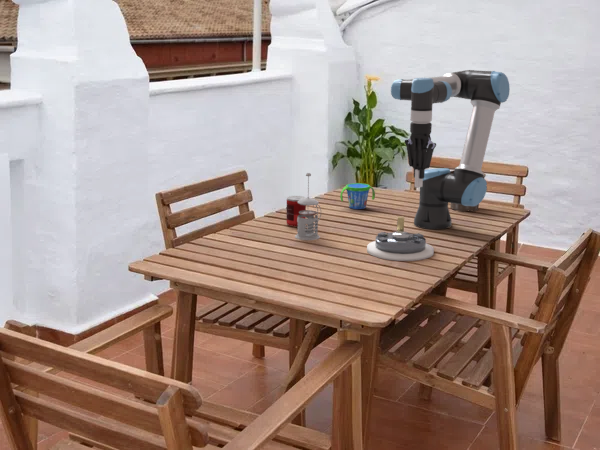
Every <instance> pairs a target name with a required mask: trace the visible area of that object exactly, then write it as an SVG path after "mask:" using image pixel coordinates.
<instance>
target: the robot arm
mask: <svg viewBox="0 0 600 450" xmlns="http://www.w3.org/2000/svg"><path fill="white" fill-rule="evenodd" d="M390 95H391V97H392V98H393V99H395V100H399V101H410V104H411V105H410V121H411V122H410V126H409V129H410V130H409V132H410V136H409V138H408V139H405V140H404V143H405V146H406V150H407V151H406V152H407V157H408V165H409V167H412V169H413V178H414V188H417V189H419V202H418V208H417V211H416V213H415V216H414V219H413V224H414V225H415V226H416V227H419V228H420V229H421V228H423V229H427V230H428V229H430V230H442V229H449V228H451V227H452V217H451V212H450V209H449V204H451V203H454V204H460V205H464V206H476V205H478V204H479V205H480V204H481V202H482V201H484V198H485V196H486V193H487V189H488V186H487V185H488V184H487V183H488V182H487V180H486V179H485V178H483V177H484V174H483V173H484V172H483V171H482V168H483V163H484V159H485V156H486V152H487V151H486V150H487V147H488V141H489V137H490V133H491V131H492V130H491V129H492V125H493V120H494V116H495V112H496V111H498V110H499V109H500V107H501V104H503V103H505V102H507V100H508V99H509V97H510V82H509V78H508V77H507V75H506V74H505V73H504V72H501V71H495V70H475V69H467V70H460V71H455V72H448V73H445V74H444V75H442V76H432V77H414V78H411V79H402V78H401V79H399V78H398V79H395V80H394V81H392V83H391V86H390ZM450 98H458V99H465V100H470V104H471V105H472V112H471V116H470V119H469V124H468V127H467V132H466V137H465V141H464V144H463V147H462V148H463V149H462V153H461V156H460V157H461V158H460V162H459V165H458V166H456V167H455V168H454V174H451V173H450V172H451V171H452V170H450V168H448V167H446V168H443V167H442V168H430V166H431V164H432V159H433V153H434V150H435V148H436V146H437V143H436V142H433V141H432V138H431V134H432V125H433V124H432V123H431V122H432V120H433V104H442V103H445V102H447V101H449V100H450Z"/></svg>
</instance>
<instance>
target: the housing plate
mask: <svg viewBox="0 0 600 450" xmlns="http://www.w3.org/2000/svg"><path fill="white" fill-rule="evenodd" d="M375 243H376V240H374V241H370V242H369V243H368V244H367V245H366V252H367V253H368V254H369V255H371V256H372V257H375V258H378V259H383V260H388V261H396V262H397V261H398V262H411V261H413V262H414V261H421V260H422V261H423V260H426V259H429V258H431V257H433V256H434V255H435V253H434V252H435V251H434V247H433V246H432V245H430V244H429V243H426V246H425V250H423V251H421V252H417V253H408V254H400V253H390V252H385V251H382V250H379V249H377V248H376V246H375Z"/></svg>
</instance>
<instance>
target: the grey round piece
mask: <svg viewBox="0 0 600 450" xmlns="http://www.w3.org/2000/svg"><path fill="white" fill-rule="evenodd" d="M396 219H397V223H396V224H397V225H396V231H393V232H383V231H380V232H378V233H377V235H376V236H375V241H376V243H375V246H376V248H377V249H379V250H382V251H385V252H390V253H400V254H408V253H417V252H421V251H423V250H425V246H426V244H427V240H426V238H425V236H424V234H421V233H420V232H419V233H410V232H407V231H405V230H404V229H405V216H401V215H398V216H397V217H396Z"/></svg>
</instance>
